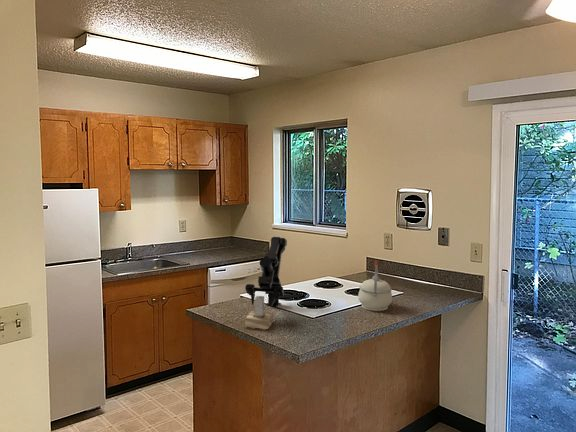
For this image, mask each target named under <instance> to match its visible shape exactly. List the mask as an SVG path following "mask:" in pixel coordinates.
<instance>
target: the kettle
mask: <svg viewBox="0 0 576 432" xmlns="http://www.w3.org/2000/svg"><path fill="white" fill-rule="evenodd" d="M373 269H374V275H373V276H372V278H370V279H367V280H364V281H363V282H362V283H361V284H360V285H359V286H358V287H359V291H358V296H357V297H358V301H359V302H360V304H361V307H362V309H365V310H368V311H373V312H375V311H376V312H382V311H386V310H388V308H389V306H390V305H391V304H392V301H393V294H392V291H393V289H392V287H391V286H390V284H389V282H387V281H385V280H382V279H380V277H379V275H378V273H379V269H380V261H379V260H378V259H376V260H374V265H373Z"/></svg>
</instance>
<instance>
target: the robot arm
mask: <svg viewBox="0 0 576 432" xmlns="http://www.w3.org/2000/svg"><path fill="white" fill-rule="evenodd" d="M287 244H288V240H287V239H286V238H285V237H280V236H272V237H271V238H270V245H269V246H270V247H269V250H268V252H267V253H265V254H264V256H263V258H261V259H260V260H259V265H260V269H261V272H262V273H261V275H259V276H258V277H257V279H258V280H257V283H258V284H257V285H258V286H255V284H253V283H247V284H245V287H244V289H245V292H246V293H247V294H248V295H249V296H250V299H251V306H254V305H255V297H256V294H255V293H256V292H261V293H262V292H263V293H264V294H265V295H267V296H268V297H267V298H268V299H267V303H265V306H269V307H278V306H280V305H282V302H279V301H280V299H281V297H284V294H285V291H284V287H283V286H282V283H281V279H280V278H279V276H280V269H281V261H282V254H283V253H284V252H285V250H286V247H287Z"/></svg>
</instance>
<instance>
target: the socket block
mask: <svg viewBox="0 0 576 432" xmlns="http://www.w3.org/2000/svg"><path fill="white" fill-rule="evenodd" d="M273 322H274V313H273V312H265V311H264V318H260V317H255V310H254V311H252V310H251V311H250V312H249V313H248V314H247V316H246V317H245V319H244V328H245V327H252V328H251V329H255V328H262V329H261V330H266V329H268V328H269V329H270V327H271V325H272V324H273ZM269 329H268V330H269Z"/></svg>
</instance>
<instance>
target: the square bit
mask: <svg viewBox="0 0 576 432" xmlns="http://www.w3.org/2000/svg"><path fill="white" fill-rule="evenodd" d="M254 312H255V317H260V318H264V312H265V295H264V296H262V295H255V299H254Z"/></svg>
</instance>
